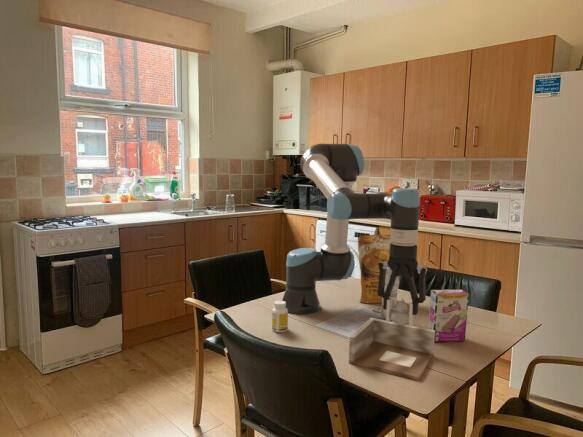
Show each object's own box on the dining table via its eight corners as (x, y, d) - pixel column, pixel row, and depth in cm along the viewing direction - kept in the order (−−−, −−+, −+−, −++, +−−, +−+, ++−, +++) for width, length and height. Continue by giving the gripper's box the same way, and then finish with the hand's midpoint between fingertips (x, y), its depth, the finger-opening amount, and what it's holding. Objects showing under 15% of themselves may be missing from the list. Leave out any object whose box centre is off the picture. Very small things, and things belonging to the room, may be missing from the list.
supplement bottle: (289, 328, 152) (290, 300, 150) (284, 333, 147) (284, 305, 145) (275, 326, 153) (275, 299, 152) (269, 331, 148) (269, 303, 147)
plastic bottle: (387, 323, 157) (390, 269, 155) (375, 317, 163) (378, 265, 160) (401, 321, 160) (404, 267, 157) (389, 315, 166) (391, 263, 163)
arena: (348, 363, 126) (349, 336, 125) (370, 341, 141) (371, 317, 140) (418, 381, 116) (420, 352, 115) (433, 355, 131) (434, 330, 130)
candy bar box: (433, 343, 141) (436, 294, 139) (426, 337, 146) (429, 289, 144) (466, 342, 142) (469, 293, 140) (458, 335, 147) (461, 288, 145)
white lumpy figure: (399, 329, 121) (400, 301, 120) (385, 321, 127) (385, 294, 126) (414, 326, 123) (415, 298, 122) (399, 318, 129) (400, 292, 128)
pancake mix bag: (352, 299, 184) (354, 234, 181) (394, 297, 189) (397, 233, 185) (358, 304, 178) (361, 237, 174) (401, 302, 182) (404, 236, 179)
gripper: (367, 242, 124) (364, 320, 126) (435, 249, 114) (430, 333, 117) (375, 238, 130) (372, 313, 133) (440, 244, 121) (436, 325, 124)
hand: (399, 322), depth 125 cm, fingers closed on white lumpy figure, 6 cm apart
